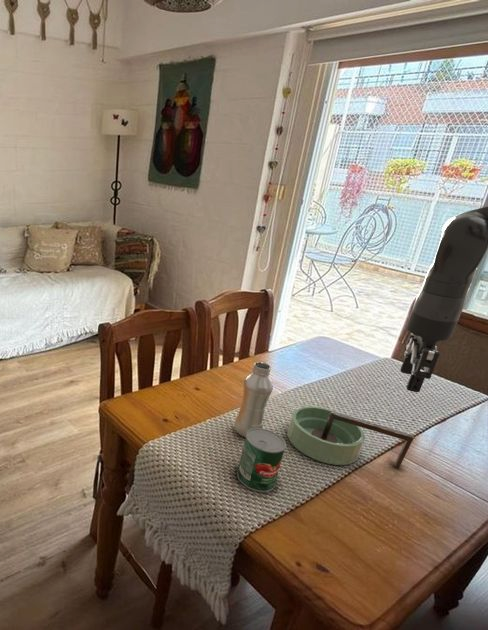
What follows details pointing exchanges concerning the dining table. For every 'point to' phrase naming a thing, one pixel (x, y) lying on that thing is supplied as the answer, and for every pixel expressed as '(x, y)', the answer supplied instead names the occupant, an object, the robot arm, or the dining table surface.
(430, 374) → the robot arm
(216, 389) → the dining table surface
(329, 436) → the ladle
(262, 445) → the canned tomato
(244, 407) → the plastic bottle
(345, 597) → the dining table surface
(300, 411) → the bowl
